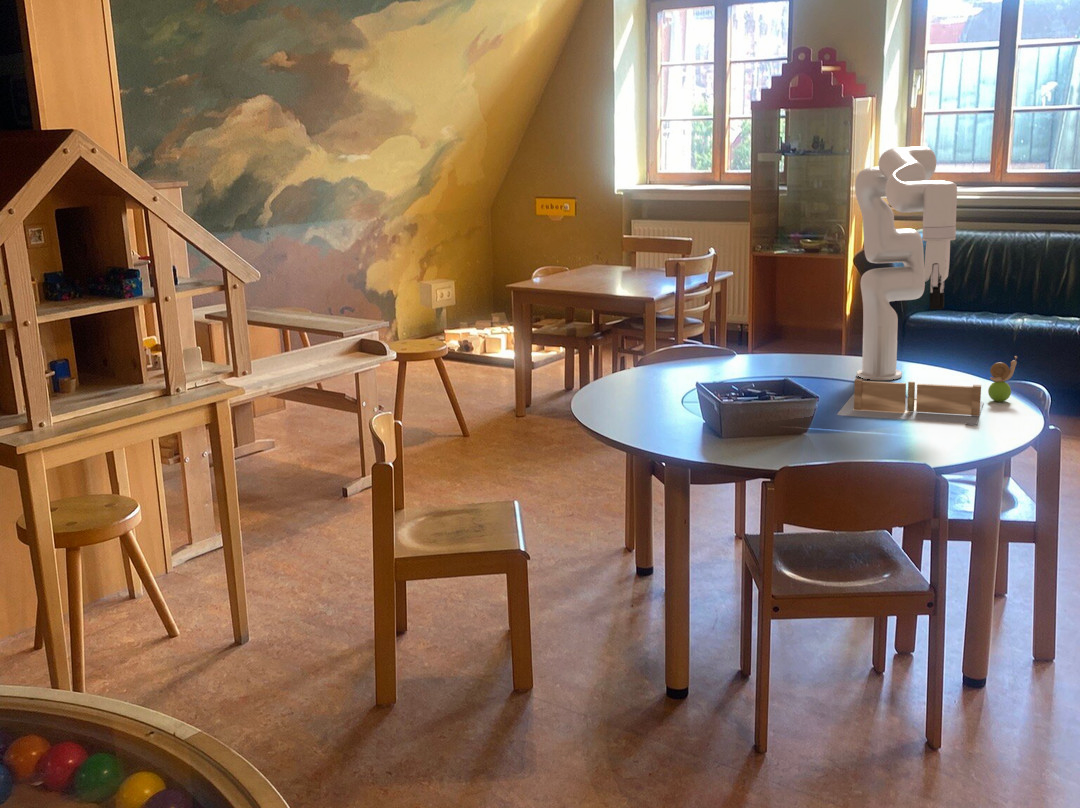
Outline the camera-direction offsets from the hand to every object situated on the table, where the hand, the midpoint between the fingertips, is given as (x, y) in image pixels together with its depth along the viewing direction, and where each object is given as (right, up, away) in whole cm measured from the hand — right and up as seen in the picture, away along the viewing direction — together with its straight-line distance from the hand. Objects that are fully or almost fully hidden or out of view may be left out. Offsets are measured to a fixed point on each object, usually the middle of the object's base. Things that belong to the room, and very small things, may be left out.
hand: (936, 308), depth 254 cm
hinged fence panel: (+3, -26, +3) cm, 26 cm away
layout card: (-3, -25, +10) cm, 27 cm away
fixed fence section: (-11, -25, +10) cm, 29 cm away
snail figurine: (+22, -23, +13) cm, 35 cm away
